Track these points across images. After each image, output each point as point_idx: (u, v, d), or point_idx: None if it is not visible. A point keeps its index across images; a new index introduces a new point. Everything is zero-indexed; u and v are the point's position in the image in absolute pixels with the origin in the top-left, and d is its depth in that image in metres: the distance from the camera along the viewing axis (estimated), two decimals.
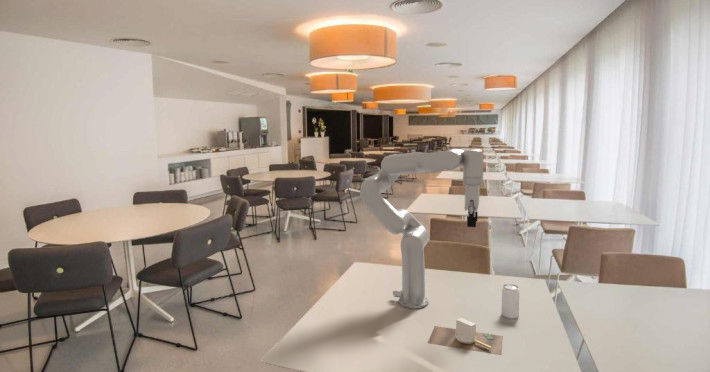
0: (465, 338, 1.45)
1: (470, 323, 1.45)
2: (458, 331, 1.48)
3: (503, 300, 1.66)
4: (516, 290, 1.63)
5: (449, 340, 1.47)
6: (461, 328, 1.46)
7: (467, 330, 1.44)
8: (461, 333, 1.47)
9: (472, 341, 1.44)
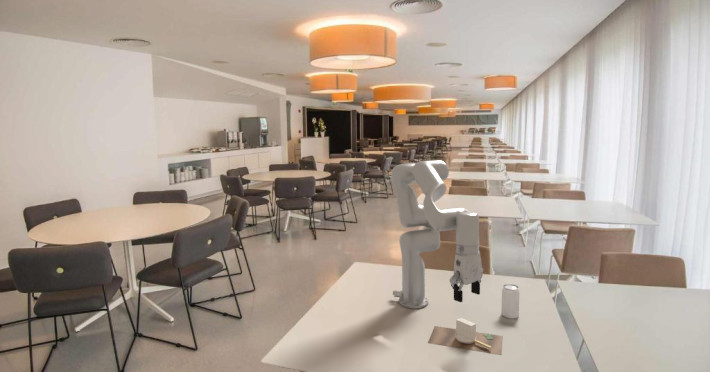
0: (465, 338, 1.45)
1: (470, 323, 1.45)
2: (458, 331, 1.48)
3: (503, 300, 1.66)
4: (516, 290, 1.64)
5: (449, 340, 1.47)
6: (461, 328, 1.46)
7: (467, 330, 1.44)
8: (461, 333, 1.47)
9: (472, 341, 1.44)
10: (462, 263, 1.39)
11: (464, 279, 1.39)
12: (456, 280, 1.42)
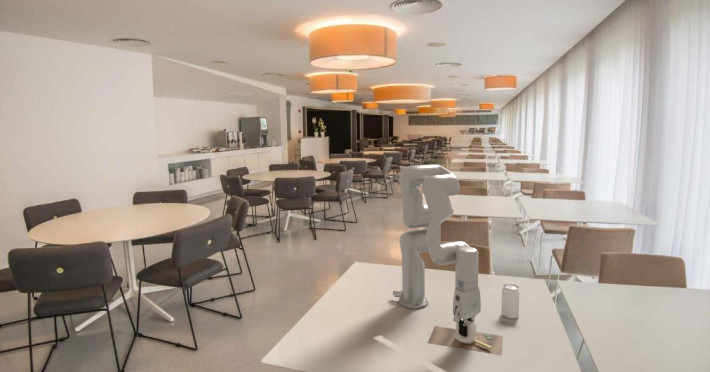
0: (465, 338, 1.45)
1: (470, 323, 1.45)
2: (458, 331, 1.48)
3: (503, 300, 1.66)
4: (516, 290, 1.63)
5: (449, 340, 1.47)
6: None
7: (467, 330, 1.44)
8: None
9: (472, 341, 1.44)
10: (461, 299, 1.40)
11: (463, 314, 1.41)
12: (458, 316, 1.45)
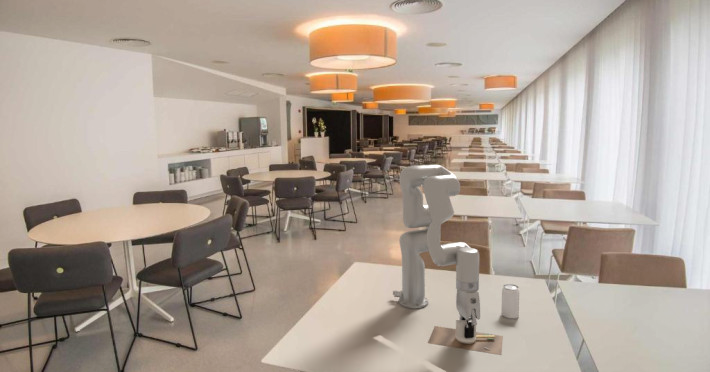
0: (470, 338, 1.45)
1: None
2: (460, 334, 1.46)
3: (503, 300, 1.66)
4: (516, 290, 1.63)
5: (449, 340, 1.47)
6: (463, 330, 1.45)
7: None
8: (463, 335, 1.46)
9: None
10: (477, 299, 1.40)
11: (479, 314, 1.41)
12: (467, 319, 1.43)
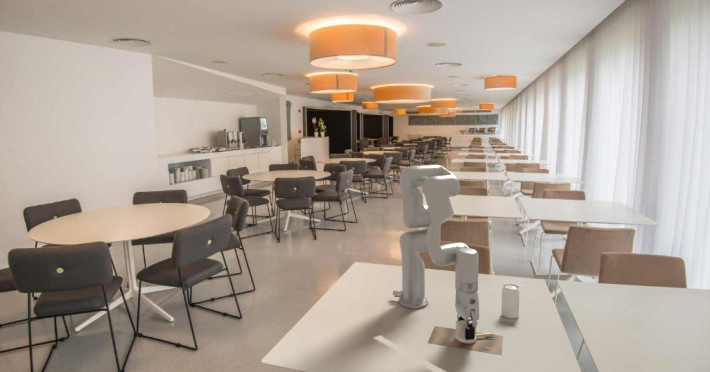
0: None
1: (470, 321, 1.46)
2: (461, 335, 1.45)
3: (503, 300, 1.66)
4: (516, 290, 1.63)
5: (449, 340, 1.47)
6: (464, 330, 1.45)
7: None
8: (464, 335, 1.45)
9: None
10: (476, 300, 1.40)
11: None
12: None
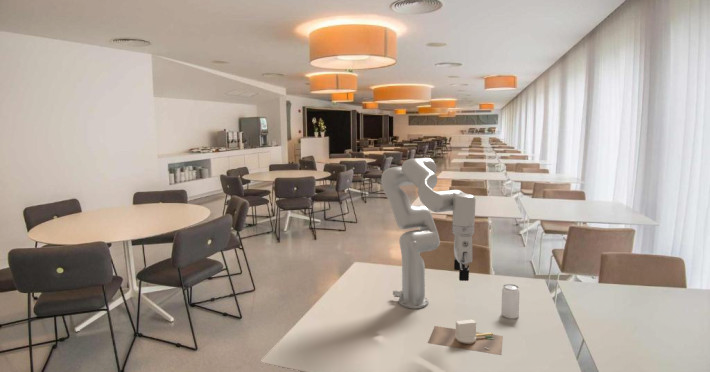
0: (471, 337, 1.45)
1: (470, 321, 1.46)
2: (461, 335, 1.45)
3: (503, 300, 1.66)
4: (516, 290, 1.63)
5: (449, 340, 1.47)
6: (464, 330, 1.45)
7: (471, 328, 1.45)
8: (464, 335, 1.45)
9: None
10: (470, 243, 1.44)
11: (471, 258, 1.45)
12: (461, 261, 1.46)
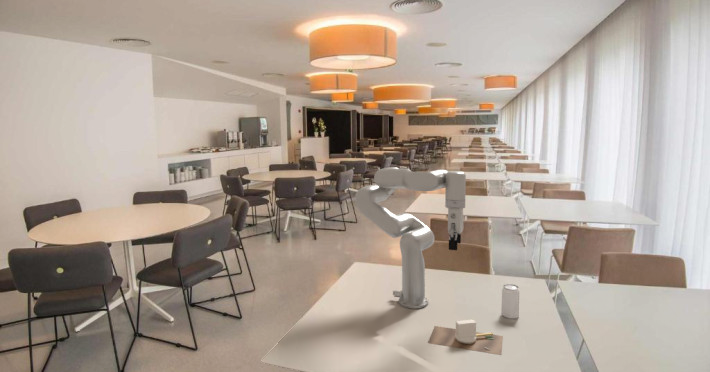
0: (471, 337, 1.45)
1: (470, 321, 1.46)
2: (461, 335, 1.45)
3: (503, 300, 1.66)
4: (516, 290, 1.63)
5: (449, 340, 1.47)
6: (464, 330, 1.45)
7: (471, 328, 1.45)
8: (464, 335, 1.45)
9: None
10: (457, 215, 1.59)
11: (459, 229, 1.59)
12: None
